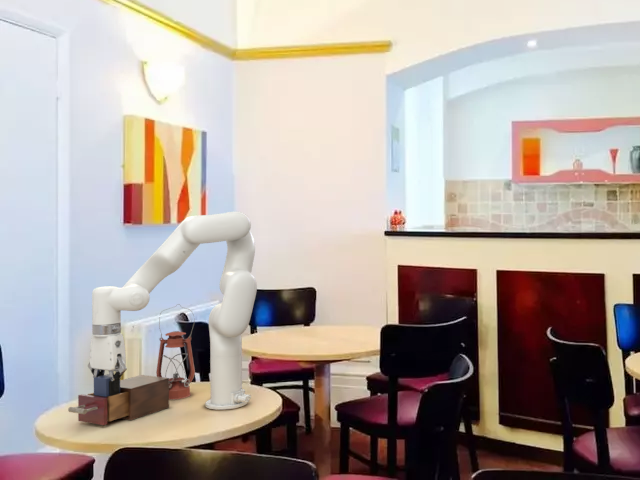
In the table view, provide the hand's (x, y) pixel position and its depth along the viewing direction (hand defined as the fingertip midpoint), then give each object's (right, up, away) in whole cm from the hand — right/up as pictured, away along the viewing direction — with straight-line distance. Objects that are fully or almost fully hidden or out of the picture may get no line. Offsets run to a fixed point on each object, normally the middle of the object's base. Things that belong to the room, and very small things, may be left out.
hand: (107, 392), depth 197 cm
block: (0, 0, 0) cm, 0 cm away
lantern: (+10, -9, +28) cm, 31 cm away
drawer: (-1, -7, -1) cm, 7 cm away
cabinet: (+5, -9, +9) cm, 13 cm away
